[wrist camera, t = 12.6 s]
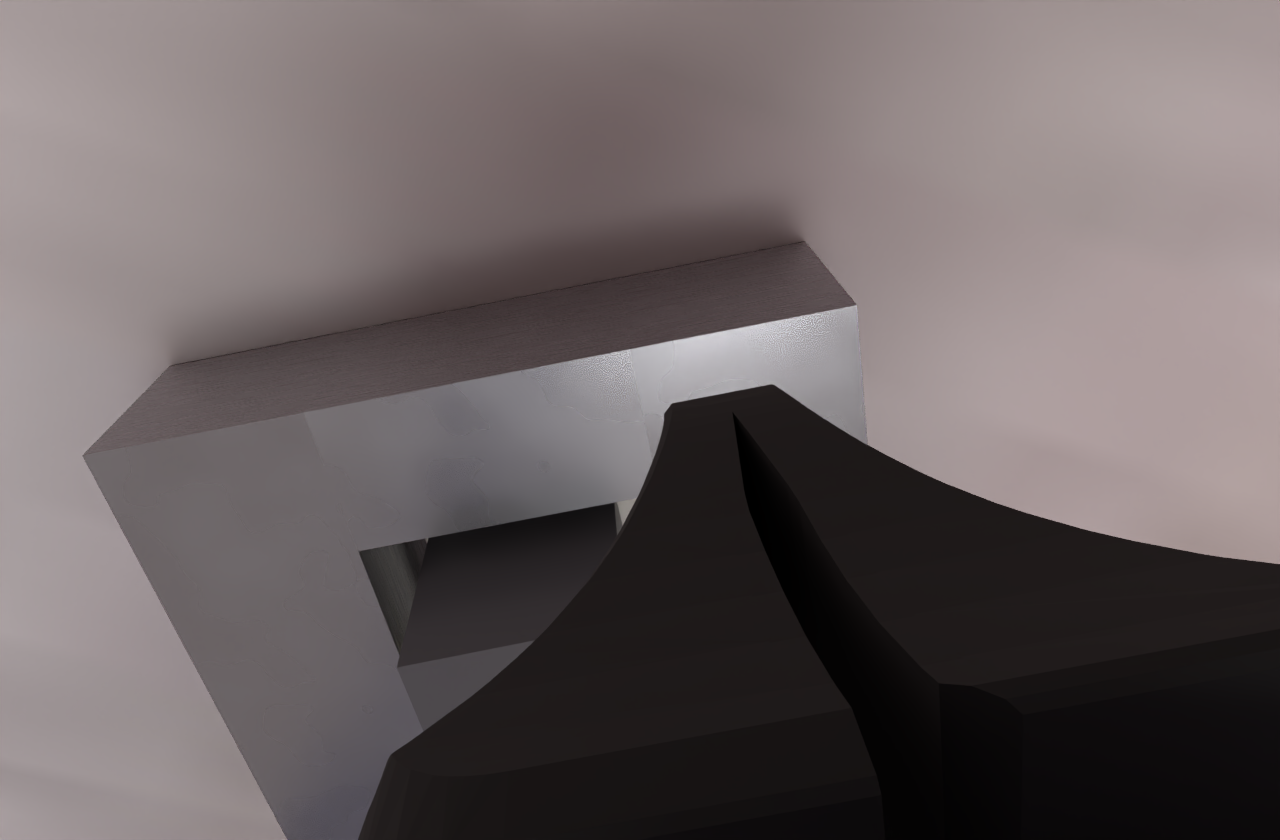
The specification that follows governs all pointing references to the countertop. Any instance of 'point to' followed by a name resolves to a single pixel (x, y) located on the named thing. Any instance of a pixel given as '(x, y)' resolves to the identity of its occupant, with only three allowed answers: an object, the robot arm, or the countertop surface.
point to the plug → (494, 600)
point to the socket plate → (422, 480)
